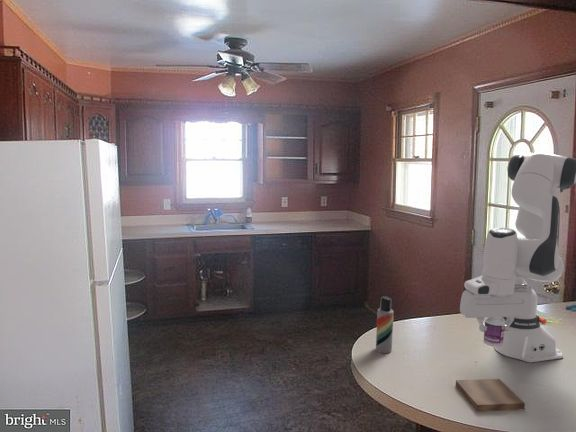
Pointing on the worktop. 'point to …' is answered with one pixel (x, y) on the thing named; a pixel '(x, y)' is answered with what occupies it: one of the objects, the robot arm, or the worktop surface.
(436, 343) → the worktop surface
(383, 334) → the lotion bottle
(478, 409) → the walnut board
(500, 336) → the pill bottle
